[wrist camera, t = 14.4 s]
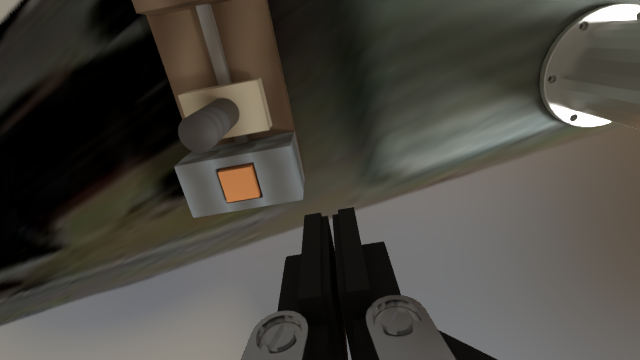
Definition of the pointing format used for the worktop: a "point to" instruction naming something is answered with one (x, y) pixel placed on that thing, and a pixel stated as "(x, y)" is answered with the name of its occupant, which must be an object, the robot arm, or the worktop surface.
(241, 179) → the button
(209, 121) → the cream plate with knob
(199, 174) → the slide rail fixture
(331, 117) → the worktop surface
